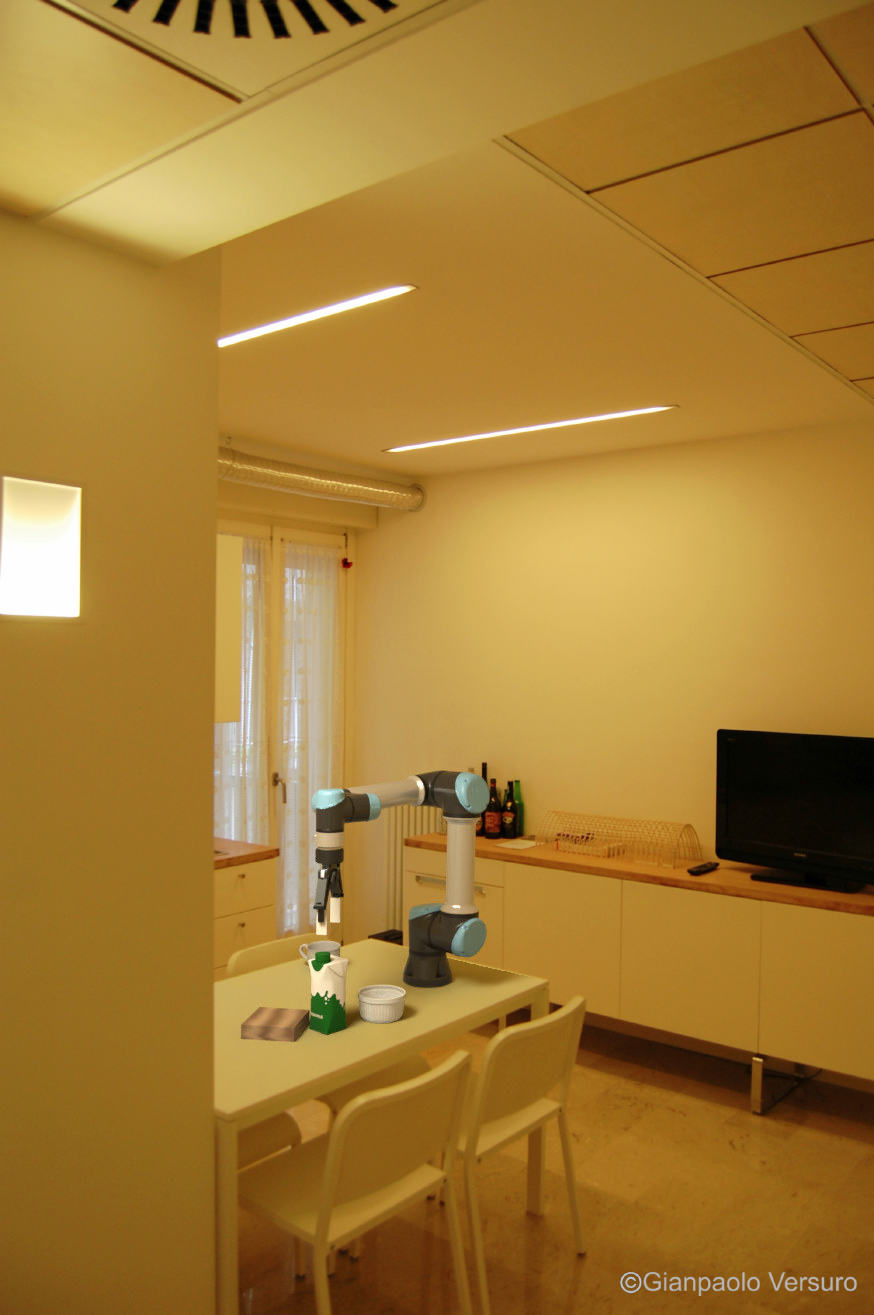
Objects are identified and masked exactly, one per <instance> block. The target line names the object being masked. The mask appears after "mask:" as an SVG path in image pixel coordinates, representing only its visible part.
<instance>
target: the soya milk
mask: <svg viewBox="0 0 874 1315" xmlns="http://www.w3.org/2000/svg"><path fill="white" fill-rule="evenodd" d="M349 962H350V961H349V959H348V958H344V957H341V956H340V957H337V956H334V955H330V952H325V951H322V952H317V953H315V958H314V959H310V960H308V962H307V964H308V963H309V966H308V967H309V972H310V1023H309V1025H308V1027H309V1029H310V1030H313V1031H315V1032H318V1033H320V1034H324V1035H326V1036H328V1035H331V1034H333V1033H336V1032H339V1031H342V1030H345V1029H347V1028H348V1025H347V1013H346V1012H347V1011H346V994H347V992H346V990H347V989H346V985H347V984H346V982H347V981H346V979H347V977H346V976H347V971H348V966H349Z"/></svg>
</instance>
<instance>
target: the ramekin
mask: <svg viewBox="0 0 874 1315" xmlns="http://www.w3.org/2000/svg"><path fill="white" fill-rule="evenodd" d="M406 998H407V992H406V990H405V989H404V988H402V987H400V986H398V985H392V984H391V985H390V984H373V985H372V984H371V985H367V986H364V987H361V988H359V990H358V991H357V999H358V1009H359V1015H360V1017H361V1018H362V1020H364V1021H366V1022H368V1023H371V1024H372V1023H373V1024H390V1022H391V1023H395V1022H397V1021H399V1020H400V1019H401V1018H402V1016H403V1013H404V1009H405V1008H404V1007H405V999H406ZM394 1021H395V1022H394Z"/></svg>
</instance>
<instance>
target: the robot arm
mask: <svg viewBox="0 0 874 1315" xmlns="http://www.w3.org/2000/svg"><path fill="white" fill-rule="evenodd" d="M490 797H491V796H490V789H489V786H488V783H487V782H486V780H485V779H484V778H483V777H482V776H480V775H479V774H477V773H472V772H468V771H456V770H455V771H454V770H452V771H451V770H444V769H443V770H442V769H441V770H435V771H429V772H425V773H419V774H414V775H409V776H407V777H406V779H401V780H395V781H387V782H381V783H374V784H367V785H361V786H360V785H359V786H353V787H347V788H333V787H332V788H330V787H329V788H327V787H326V788H320V789H319V790H318V791H316V792H315V793H314V794H313V795H312V798H311V803H310V805H311V809H312V811H313V812H314V813H315V834H314V835H313V838H314V839H315V848H316V847H317V848H316V849H315V852H314V853H315V854H314V855H315V857H314V861H315V863H317V864H320V865H321V866H322V867H321V869H318V870H317V883H316V889H315V898H314V904H313V906H312V907H313V908H312V909H313V910H316V930H315V931H316V933H315V935H318V936H327V935H328V914H329V915H330V916H329V917H330V919H329V923H336V924H339V923H341V916H342V915H341V914H342V913H341V910H342V909H341V907H342V905H341V904H342V901H341V900H342V898H345V893H344V890H343V889H344V888H343V880H342V872H341V864H342V863H344V860H345V857H344V856H345V849H344V848H343V847H344V846H345V824H351V823H361V822H366V823H367V822H371V821H375V820H377V819H378V818H379V817H380V815H381V813H382V810H385V809H390V808H396V807H401V806H403V807H404V806H409V805H410V806H411V807H413V808H416V807H417V808H418V807H430V808H431V807H432V808H436V809H442V818H443V820H445V821H446V824H447V827H446V828H447V830H446V870H445V874H446V875H445V878H446V879H445V902H443V903H442V902H441V903H440V902H439V903H438V902H434V903H433V902H431V903H423V904H418V905H414V906H412V907H410V909H409V911H408V913H409V914H408V920H407V921H408V956H407V959H406V962H405V965H404V969H403V972H402V980H403V983H404V984H406V985H409V986H413V987H419V988H437V987H442V986H447V985H449V984H451V983H452V981H453V971H452V969H451V966H450V963H449V959H448V955H447V954H451V955H454V956H455V957H463V958H471V957H474V956H476V955H477V954H478V953H479V952H480V951H481V949H482V948H483V947H484V945H485V942H486V939H487V932H488V930H487V925H486V923H484V920H482V919H481V918H480V909H479V907H478V906H477V905H475V904H476V903H475V884H476V882H475V881H476V880H475V878H476V877H475V876H476V873H475V872H476V870H475V869H476V833H477V832H476V830H477V823H478V822H479V821H480V820H481V818H482V813H483V812H484V811H485V810H486V809H487V808H488V807H487V806H488V805H489V803H490ZM330 894H331V897H330V901H329V895H330ZM329 902H330V903H329ZM328 903H329V904H330V905H329V908H330V909H328V908H327V905H328ZM328 910H330V911H329V912H330V913H328Z"/></svg>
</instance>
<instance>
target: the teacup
mask: <svg viewBox="0 0 874 1315" xmlns="http://www.w3.org/2000/svg"><path fill="white" fill-rule="evenodd" d="M304 948H305V949H306V953H305V952H304ZM298 950H299V954H300V956H301V957H302V958H303V959H304V960H306V962H307V965H308V967H309V963H308V960H310V959H314V958H315V953H317V952H322V951H325V952H330V955H334V956H337V957H341V944H340V943H339V942H337V941H333V940H317V941H313V942H310V943H309V944H308V943H302V944H300V946H299V949H298Z"/></svg>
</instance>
